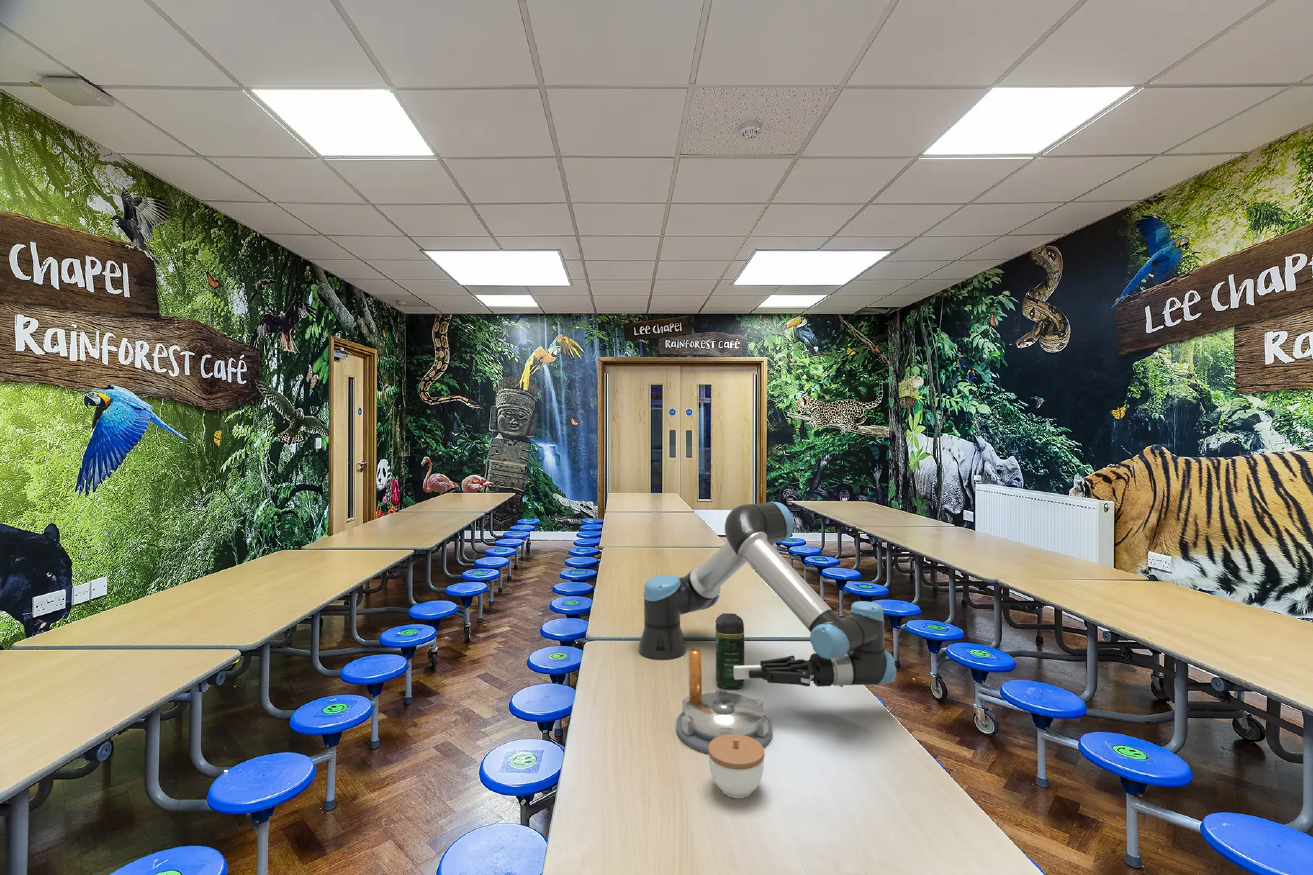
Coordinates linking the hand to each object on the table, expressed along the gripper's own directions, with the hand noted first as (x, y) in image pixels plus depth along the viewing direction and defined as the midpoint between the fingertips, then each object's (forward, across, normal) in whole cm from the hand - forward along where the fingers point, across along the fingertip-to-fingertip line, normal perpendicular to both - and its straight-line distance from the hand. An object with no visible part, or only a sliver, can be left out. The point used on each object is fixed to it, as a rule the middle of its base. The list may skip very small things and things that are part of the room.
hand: (734, 672), depth 134 cm
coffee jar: (-3, +21, -11) cm, 24 cm away
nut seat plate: (+4, -5, -11) cm, 13 cm away
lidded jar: (+5, -27, -11) cm, 30 cm away
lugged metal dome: (+4, -5, -9) cm, 11 cm away
